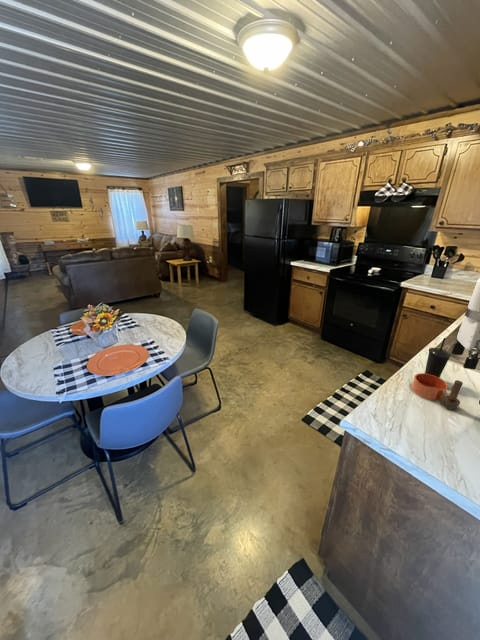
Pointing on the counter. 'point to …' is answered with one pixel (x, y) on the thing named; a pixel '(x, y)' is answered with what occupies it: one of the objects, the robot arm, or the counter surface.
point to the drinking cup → (437, 360)
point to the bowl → (429, 386)
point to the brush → (453, 397)
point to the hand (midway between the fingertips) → (462, 361)
